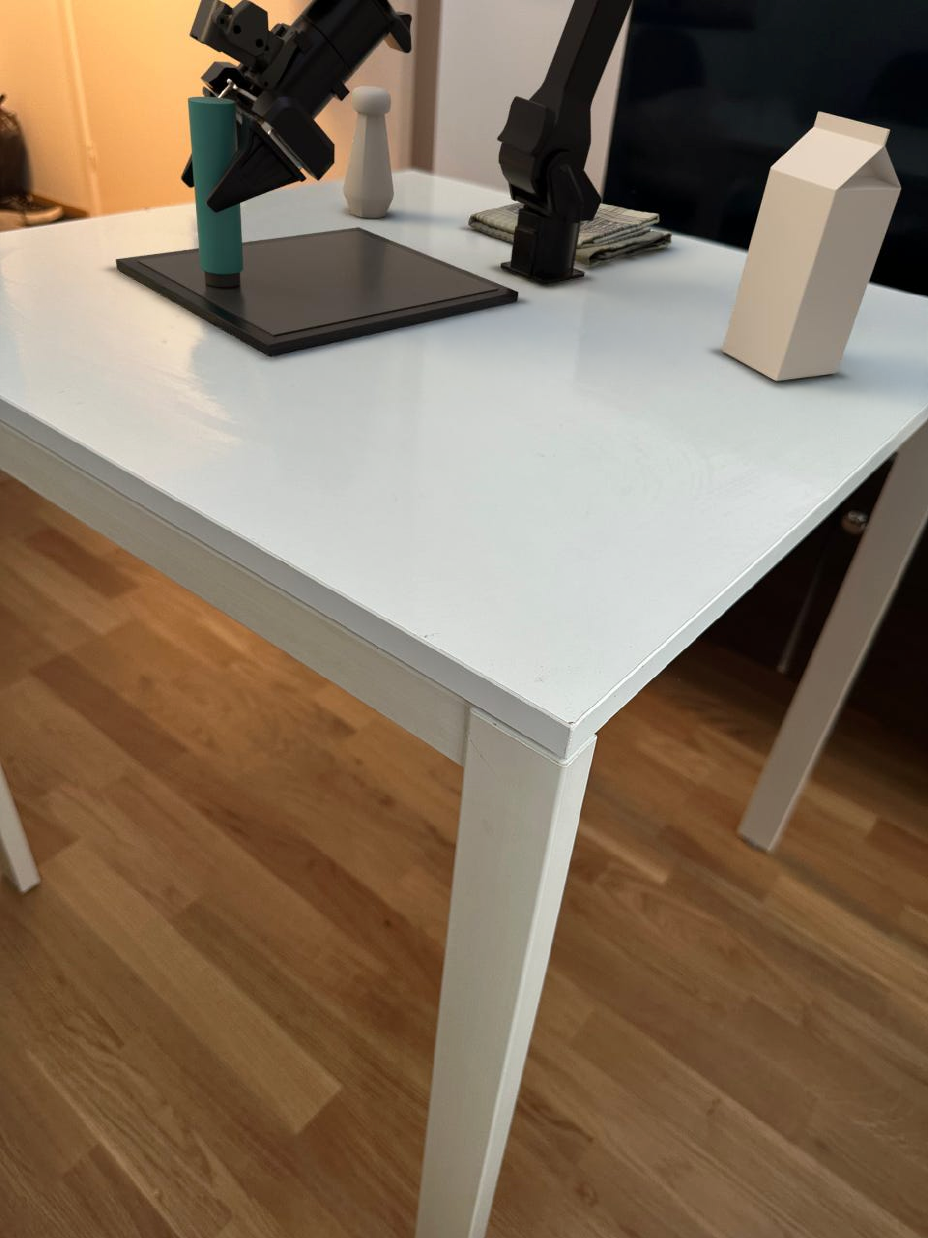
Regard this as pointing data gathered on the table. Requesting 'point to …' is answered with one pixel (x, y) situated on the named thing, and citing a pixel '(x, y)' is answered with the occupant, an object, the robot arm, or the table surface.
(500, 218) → the dish towel
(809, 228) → the milk carton
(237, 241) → the marker
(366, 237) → the tablet
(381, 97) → the salt shaker
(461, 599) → the table surface
